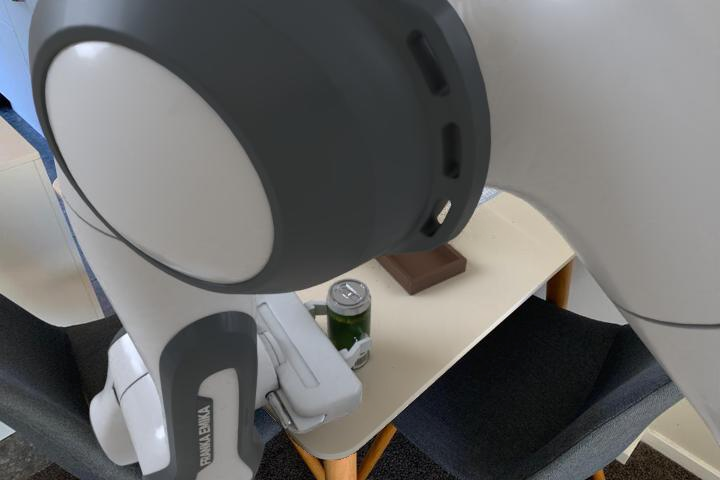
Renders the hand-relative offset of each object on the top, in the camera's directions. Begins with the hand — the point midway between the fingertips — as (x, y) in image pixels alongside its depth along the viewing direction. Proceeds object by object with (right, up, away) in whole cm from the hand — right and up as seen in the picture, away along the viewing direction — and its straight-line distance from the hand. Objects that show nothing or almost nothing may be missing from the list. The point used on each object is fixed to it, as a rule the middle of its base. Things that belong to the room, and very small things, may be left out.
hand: (354, 321), depth 65 cm
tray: (+5, +12, +25) cm, 28 cm away
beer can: (-1, -5, +4) cm, 7 cm away
